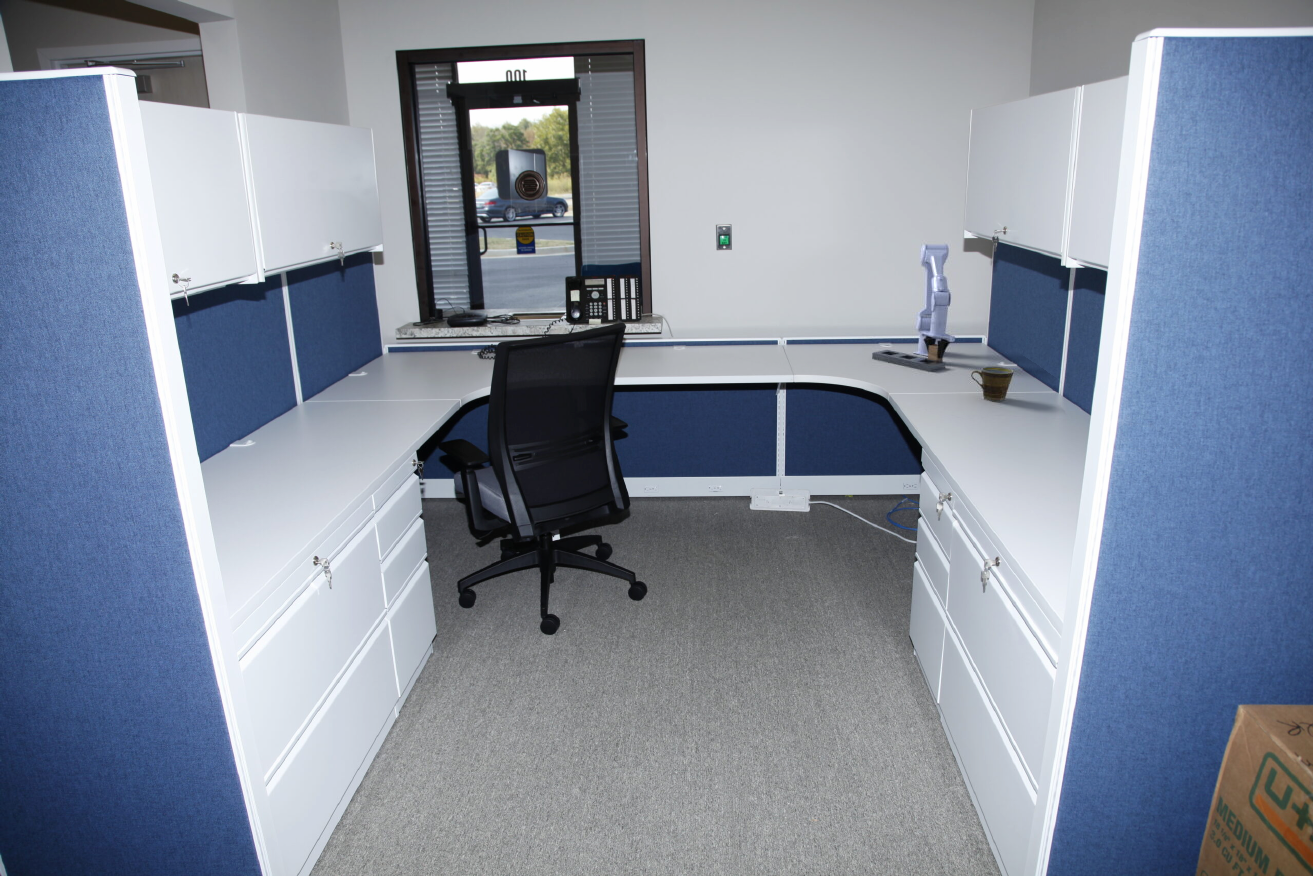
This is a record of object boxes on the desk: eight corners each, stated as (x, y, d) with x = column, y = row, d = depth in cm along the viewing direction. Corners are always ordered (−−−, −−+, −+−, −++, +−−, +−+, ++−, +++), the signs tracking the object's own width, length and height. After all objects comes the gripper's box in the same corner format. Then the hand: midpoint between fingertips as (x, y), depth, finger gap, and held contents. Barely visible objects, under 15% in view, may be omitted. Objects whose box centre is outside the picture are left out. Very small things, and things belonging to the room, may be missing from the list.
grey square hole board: (886, 355, 346) (887, 349, 345) (945, 368, 324) (945, 362, 323) (872, 358, 341) (872, 352, 340) (930, 371, 319) (931, 365, 318)
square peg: (933, 361, 335) (935, 344, 333) (942, 363, 332) (943, 345, 330) (927, 362, 333) (928, 345, 331) (935, 364, 330) (937, 347, 328)
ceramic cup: (1007, 395, 287) (1010, 367, 284) (1012, 403, 278) (1015, 374, 274) (966, 393, 290) (970, 365, 286) (970, 401, 280) (973, 372, 277)
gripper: (916, 321, 331) (913, 355, 335) (948, 326, 320) (944, 361, 324) (927, 319, 335) (924, 352, 339) (959, 324, 324) (956, 359, 328)
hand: (935, 356), depth 332 cm, fingers closed on square peg, 4 cm apart
